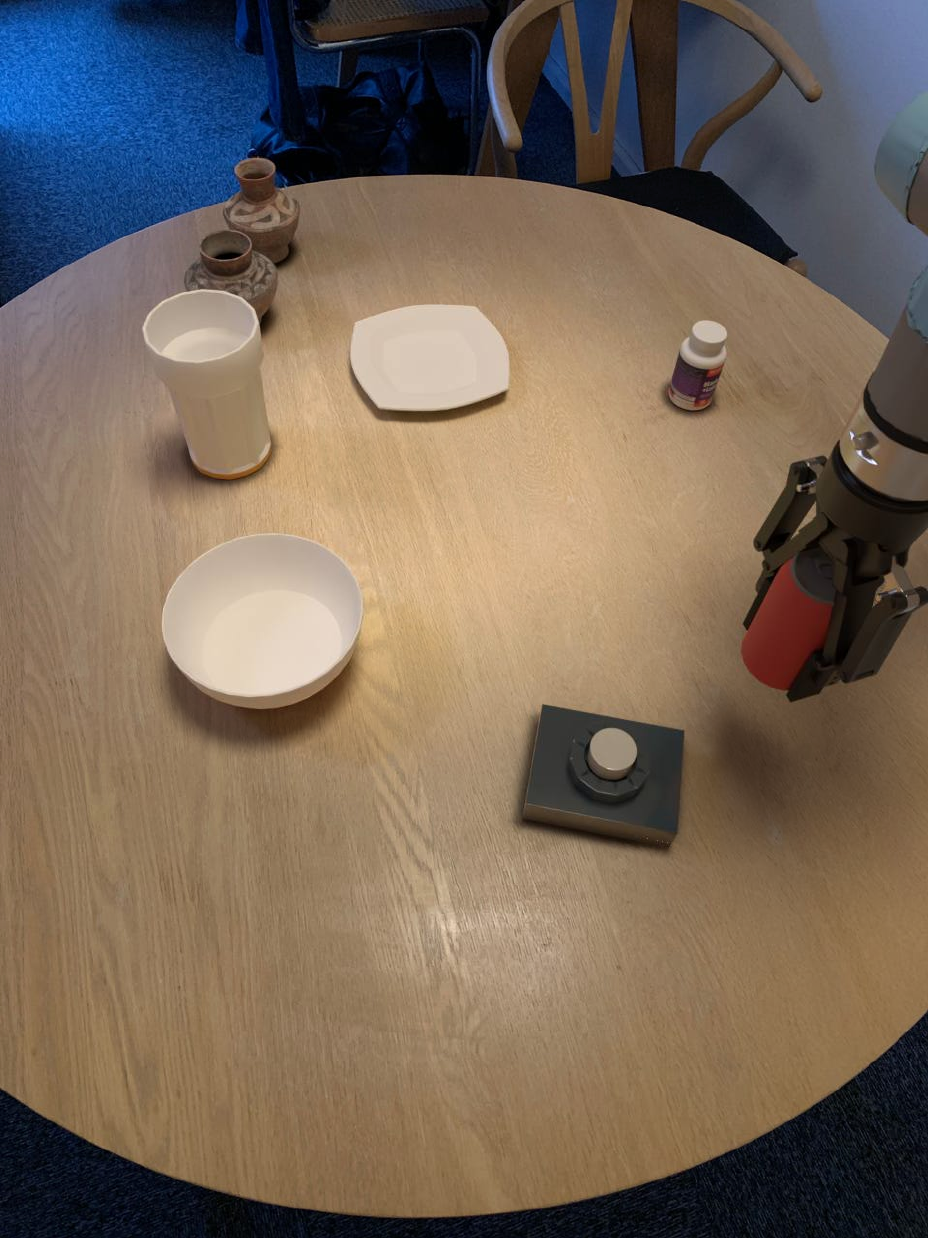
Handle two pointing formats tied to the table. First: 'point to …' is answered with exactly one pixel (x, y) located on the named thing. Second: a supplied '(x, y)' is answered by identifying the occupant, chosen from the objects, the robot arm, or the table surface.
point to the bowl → (263, 620)
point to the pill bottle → (699, 366)
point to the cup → (213, 378)
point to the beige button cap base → (597, 804)
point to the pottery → (248, 239)
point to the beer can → (791, 619)
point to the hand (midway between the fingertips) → (780, 657)
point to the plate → (429, 358)
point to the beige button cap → (611, 754)
